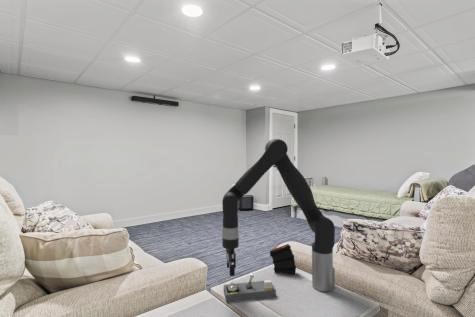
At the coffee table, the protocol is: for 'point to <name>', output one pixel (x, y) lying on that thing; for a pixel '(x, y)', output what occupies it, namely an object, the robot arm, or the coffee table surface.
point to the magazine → (283, 260)
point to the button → (232, 288)
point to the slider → (267, 284)
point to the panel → (249, 291)
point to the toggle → (251, 278)
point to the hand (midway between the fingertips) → (230, 271)
